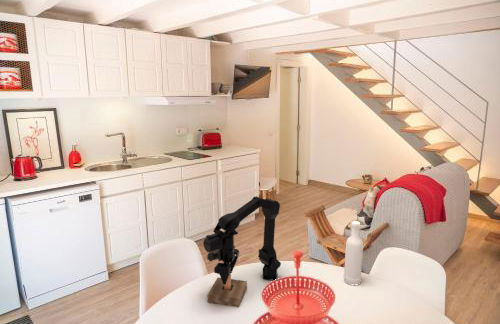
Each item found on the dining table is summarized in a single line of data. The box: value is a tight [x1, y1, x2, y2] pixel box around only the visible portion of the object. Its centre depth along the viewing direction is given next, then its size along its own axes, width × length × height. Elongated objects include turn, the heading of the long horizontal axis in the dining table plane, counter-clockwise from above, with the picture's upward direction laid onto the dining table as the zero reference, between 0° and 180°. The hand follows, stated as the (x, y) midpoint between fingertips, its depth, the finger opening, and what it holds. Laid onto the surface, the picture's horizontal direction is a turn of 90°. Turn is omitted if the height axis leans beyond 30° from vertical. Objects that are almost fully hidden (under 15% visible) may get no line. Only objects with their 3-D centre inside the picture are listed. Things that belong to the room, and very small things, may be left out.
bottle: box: [343, 220, 364, 286], centre depth 157 cm, size 8×8×30 cm
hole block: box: [206, 276, 248, 308], centre depth 147 cm, size 14×14×4 cm
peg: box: [224, 273, 232, 291], centre depth 147 cm, size 3×3×10 cm
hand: (227, 278), depth 146 cm, fingers open, 9 cm apart
